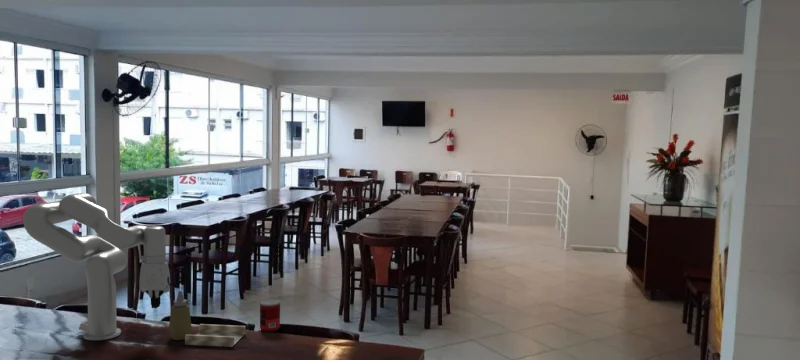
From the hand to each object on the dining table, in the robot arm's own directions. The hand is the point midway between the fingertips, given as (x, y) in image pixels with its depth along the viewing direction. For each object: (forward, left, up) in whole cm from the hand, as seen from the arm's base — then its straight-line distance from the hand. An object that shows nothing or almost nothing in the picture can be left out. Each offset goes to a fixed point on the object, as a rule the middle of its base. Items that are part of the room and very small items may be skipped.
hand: (155, 307), depth 207 cm
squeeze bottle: (+10, 0, -12) cm, 15 cm away
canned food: (+40, +15, -12) cm, 44 cm away
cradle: (+24, 0, -12) cm, 26 cm away
